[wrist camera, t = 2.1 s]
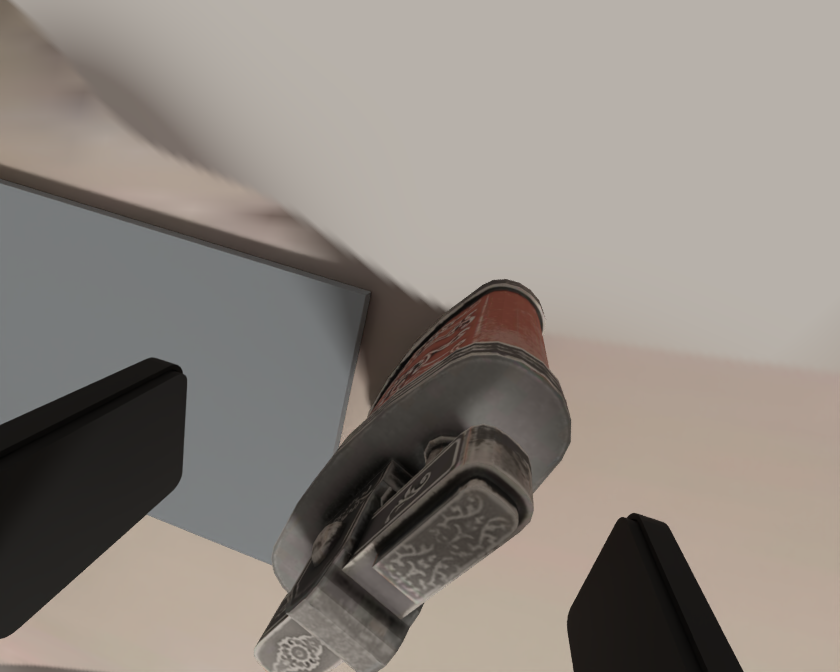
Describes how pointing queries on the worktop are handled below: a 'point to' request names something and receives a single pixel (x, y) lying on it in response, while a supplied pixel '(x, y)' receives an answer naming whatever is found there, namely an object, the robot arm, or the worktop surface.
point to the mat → (183, 351)
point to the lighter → (420, 486)
